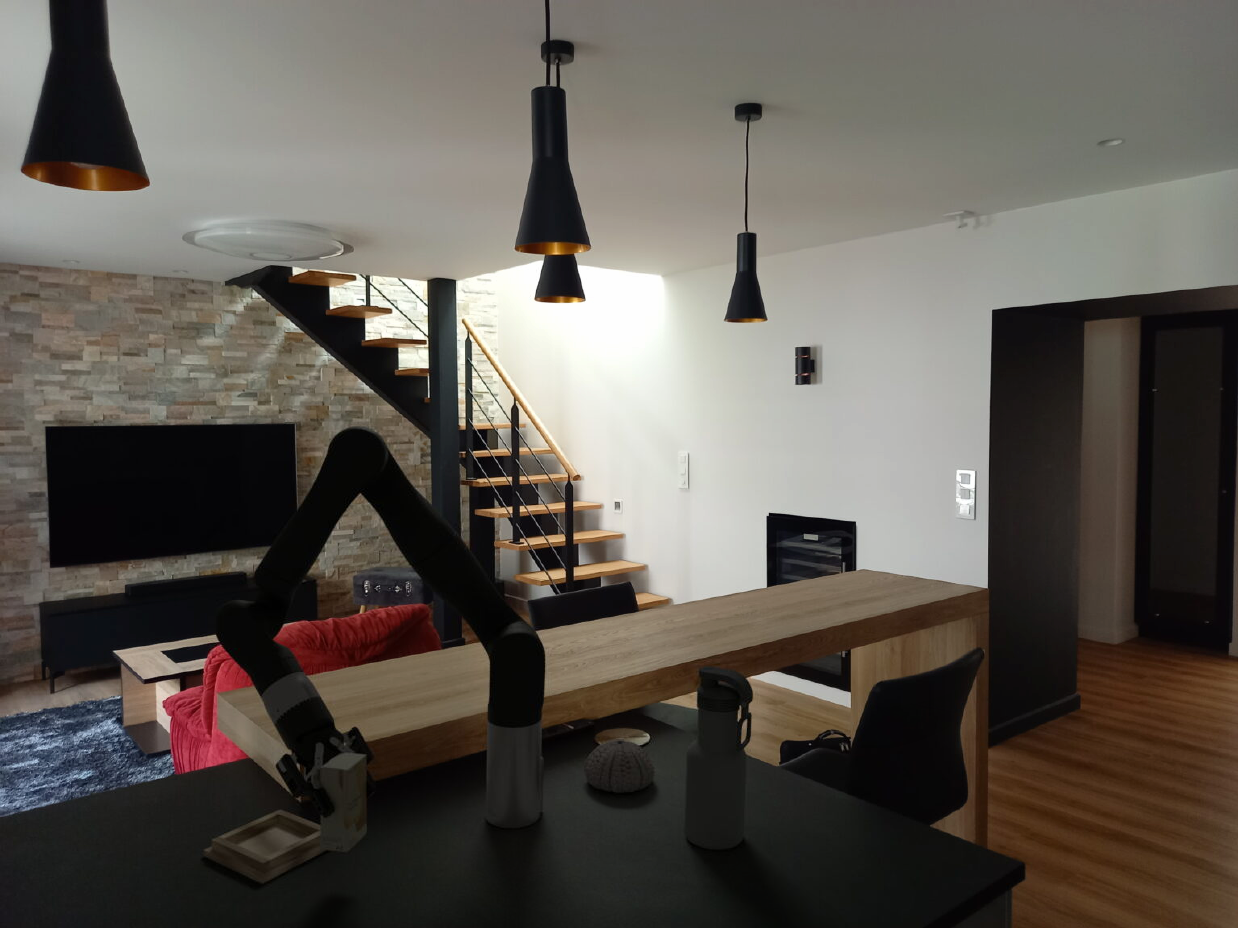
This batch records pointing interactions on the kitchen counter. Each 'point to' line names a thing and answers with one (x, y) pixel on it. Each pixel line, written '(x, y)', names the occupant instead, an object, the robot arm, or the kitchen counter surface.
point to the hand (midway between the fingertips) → (351, 803)
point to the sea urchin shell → (619, 767)
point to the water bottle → (718, 761)
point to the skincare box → (344, 801)
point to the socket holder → (267, 846)
